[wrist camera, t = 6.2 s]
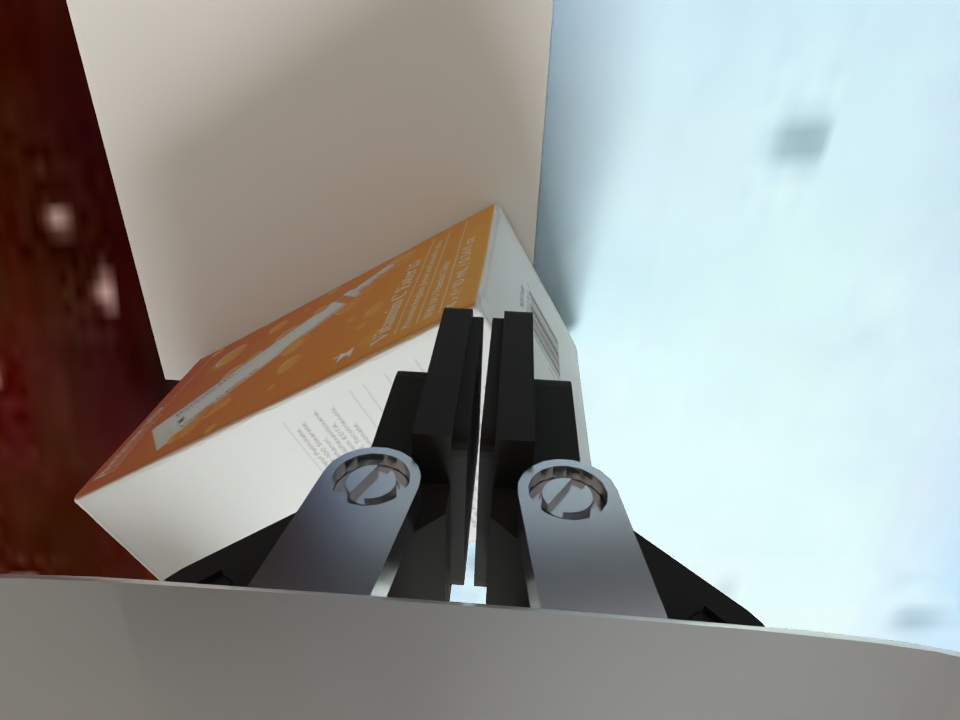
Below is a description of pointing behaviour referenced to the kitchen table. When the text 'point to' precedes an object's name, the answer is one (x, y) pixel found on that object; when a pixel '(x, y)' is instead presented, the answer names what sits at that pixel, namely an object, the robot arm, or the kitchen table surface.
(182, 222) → the mat
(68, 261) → the kitchen table surface
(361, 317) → the small box
